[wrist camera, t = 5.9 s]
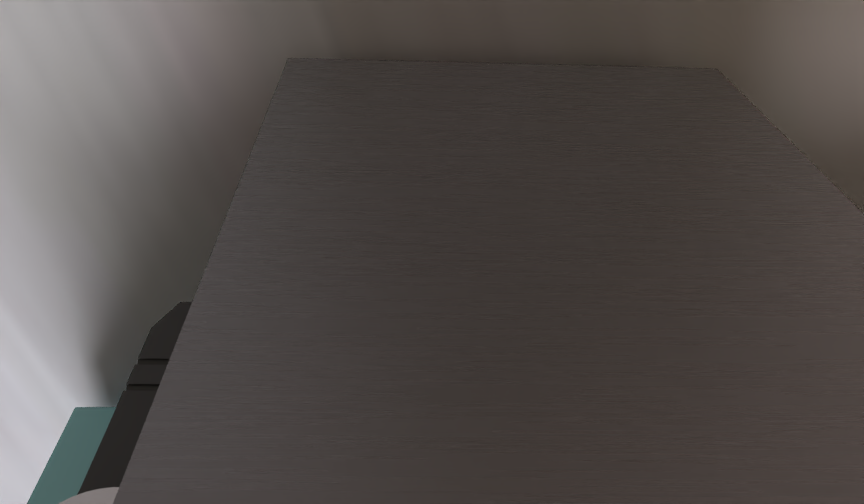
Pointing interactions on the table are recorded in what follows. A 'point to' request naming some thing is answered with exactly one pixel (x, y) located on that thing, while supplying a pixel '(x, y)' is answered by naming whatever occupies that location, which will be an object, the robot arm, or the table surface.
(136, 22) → the table surface
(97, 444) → the door
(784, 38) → the table surface
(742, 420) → the block
